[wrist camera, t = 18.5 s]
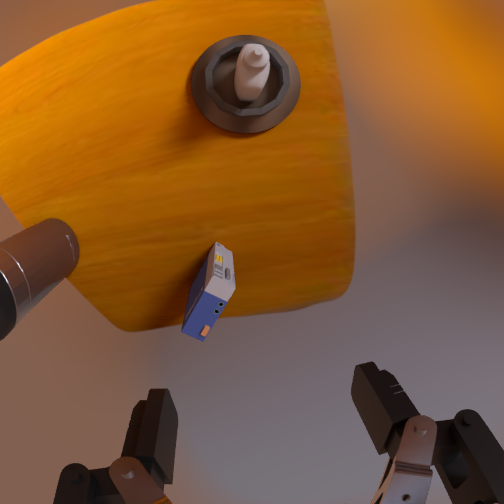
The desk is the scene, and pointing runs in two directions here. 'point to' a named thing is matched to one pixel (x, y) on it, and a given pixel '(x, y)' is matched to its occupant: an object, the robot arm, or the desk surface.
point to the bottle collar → (223, 91)
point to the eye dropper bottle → (251, 72)
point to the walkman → (209, 292)
